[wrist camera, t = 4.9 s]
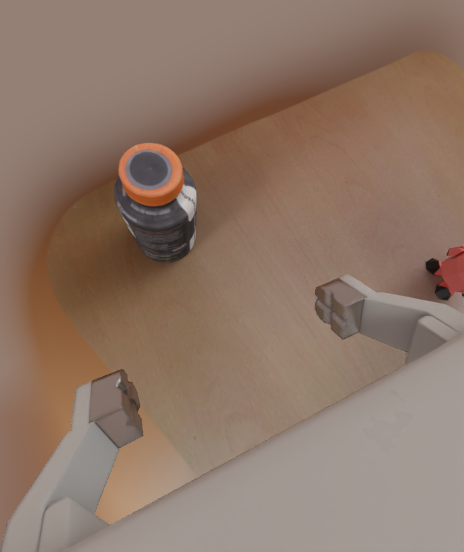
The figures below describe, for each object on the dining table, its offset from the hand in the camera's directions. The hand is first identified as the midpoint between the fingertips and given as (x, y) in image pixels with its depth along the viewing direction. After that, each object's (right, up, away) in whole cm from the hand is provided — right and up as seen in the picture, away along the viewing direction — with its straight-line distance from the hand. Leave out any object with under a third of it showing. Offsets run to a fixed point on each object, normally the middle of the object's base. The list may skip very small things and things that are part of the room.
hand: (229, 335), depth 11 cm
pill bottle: (-7, +6, +17) cm, 20 cm away
